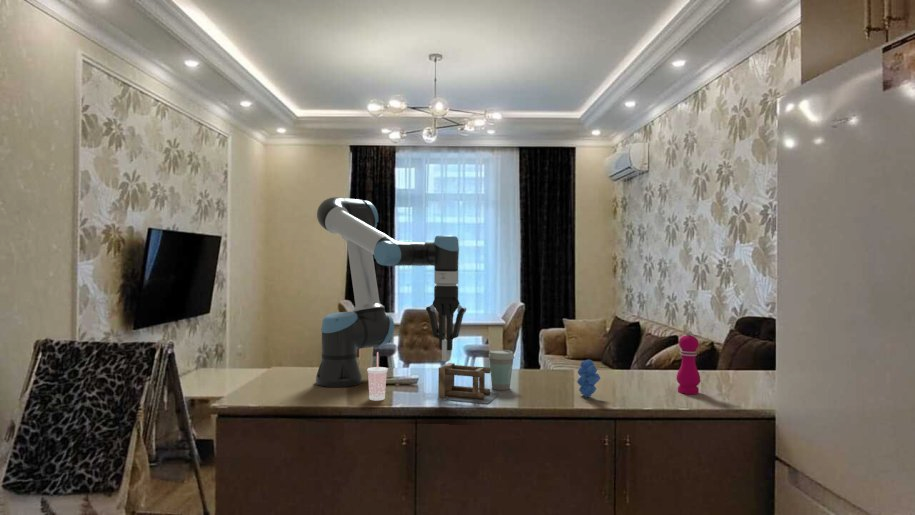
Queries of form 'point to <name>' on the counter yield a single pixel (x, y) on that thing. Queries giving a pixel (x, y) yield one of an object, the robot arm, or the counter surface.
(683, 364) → the pepper mill
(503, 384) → the coffee cup
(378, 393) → the beverage cup
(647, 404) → the counter surface
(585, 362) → the grapes
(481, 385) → the stool
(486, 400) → the mat
